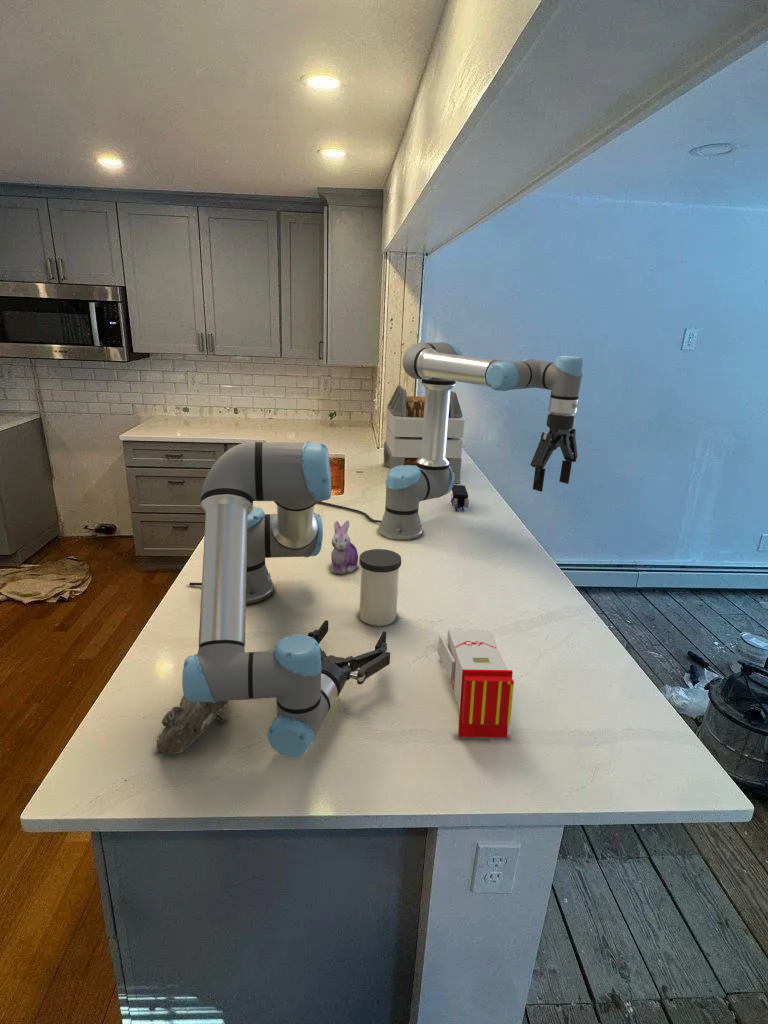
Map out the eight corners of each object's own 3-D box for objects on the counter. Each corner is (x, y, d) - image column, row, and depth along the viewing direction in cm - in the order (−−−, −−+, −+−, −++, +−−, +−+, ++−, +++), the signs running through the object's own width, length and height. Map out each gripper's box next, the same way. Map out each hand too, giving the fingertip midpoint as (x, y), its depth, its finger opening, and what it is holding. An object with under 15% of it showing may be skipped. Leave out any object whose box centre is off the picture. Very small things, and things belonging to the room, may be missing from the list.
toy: (488, 613, 130) (523, 677, 101) (484, 667, 133) (517, 744, 104) (435, 612, 130) (455, 676, 101) (432, 666, 133) (451, 743, 103)
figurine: (336, 577, 165) (336, 529, 160) (323, 563, 174) (323, 517, 169) (365, 572, 170) (367, 525, 164) (351, 558, 178) (352, 514, 173)
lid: (408, 568, 139) (409, 562, 138) (369, 575, 134) (370, 569, 134) (389, 552, 148) (389, 546, 147) (352, 558, 143) (352, 552, 143)
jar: (402, 621, 144) (406, 563, 139) (368, 628, 140) (371, 569, 135) (386, 604, 152) (388, 549, 147) (353, 610, 148) (355, 554, 143)
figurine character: (468, 516, 224) (463, 500, 237) (471, 498, 221) (465, 483, 234) (452, 515, 224) (447, 499, 237) (453, 498, 220) (449, 482, 234)
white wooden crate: (382, 463, 289) (386, 382, 275) (445, 464, 293) (451, 384, 279) (390, 482, 257) (394, 392, 243) (460, 483, 261) (468, 394, 247)
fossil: (184, 662, 117) (235, 629, 112) (216, 692, 120) (268, 662, 115) (132, 748, 97) (191, 713, 92) (172, 781, 100) (232, 750, 95)
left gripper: (260, 690, 111) (303, 635, 131) (382, 718, 105) (408, 655, 125) (259, 658, 109) (303, 606, 128) (384, 684, 103) (410, 626, 122)
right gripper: (547, 419, 148) (536, 497, 155) (597, 412, 163) (585, 482, 171) (524, 415, 153) (514, 490, 160) (574, 408, 169) (563, 476, 176)
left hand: (355, 630), depth 127 cm, fingers open, 13 cm apart
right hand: (550, 486), depth 165 cm, fingers open, 13 cm apart
